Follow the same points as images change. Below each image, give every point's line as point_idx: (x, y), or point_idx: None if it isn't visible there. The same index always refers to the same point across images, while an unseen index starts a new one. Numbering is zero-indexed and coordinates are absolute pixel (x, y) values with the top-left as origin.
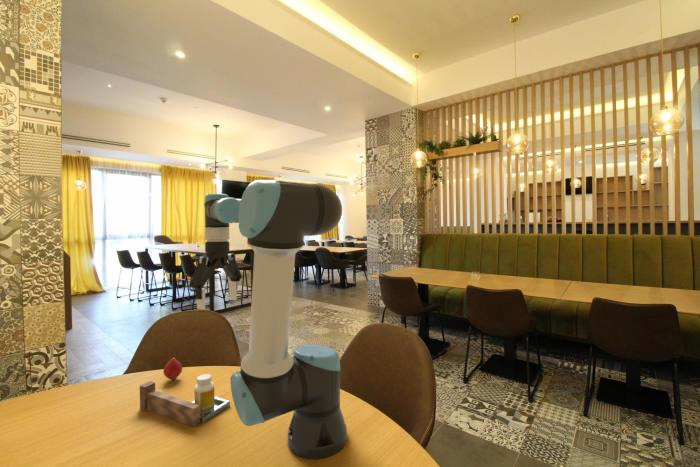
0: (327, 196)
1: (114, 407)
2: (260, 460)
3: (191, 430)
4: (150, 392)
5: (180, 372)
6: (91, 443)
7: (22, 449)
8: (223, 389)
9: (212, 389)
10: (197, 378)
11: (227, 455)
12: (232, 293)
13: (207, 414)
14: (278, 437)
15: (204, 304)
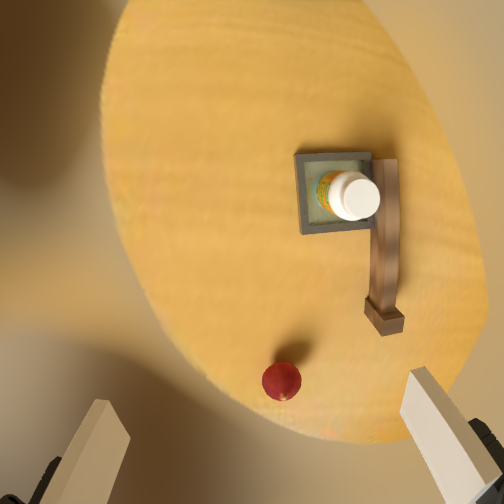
0: None
1: (392, 347)
2: (366, 6)
3: (388, 155)
4: (390, 307)
5: (273, 365)
6: (458, 269)
7: (476, 325)
8: (248, 233)
9: (344, 171)
10: (377, 207)
11: (389, 51)
12: (102, 453)
13: (357, 154)
14: (313, 7)
15: (431, 391)
